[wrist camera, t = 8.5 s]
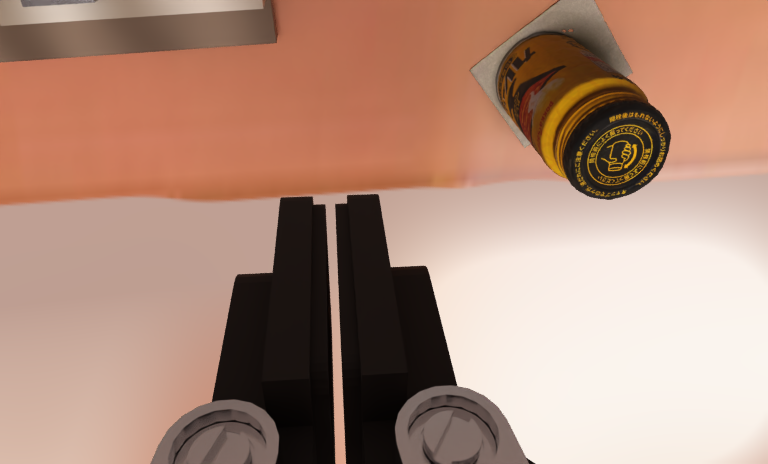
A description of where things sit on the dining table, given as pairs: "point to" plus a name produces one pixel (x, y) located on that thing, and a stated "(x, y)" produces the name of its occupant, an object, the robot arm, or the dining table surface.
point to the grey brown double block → (131, 27)
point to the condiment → (577, 101)
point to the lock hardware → (52, 2)
